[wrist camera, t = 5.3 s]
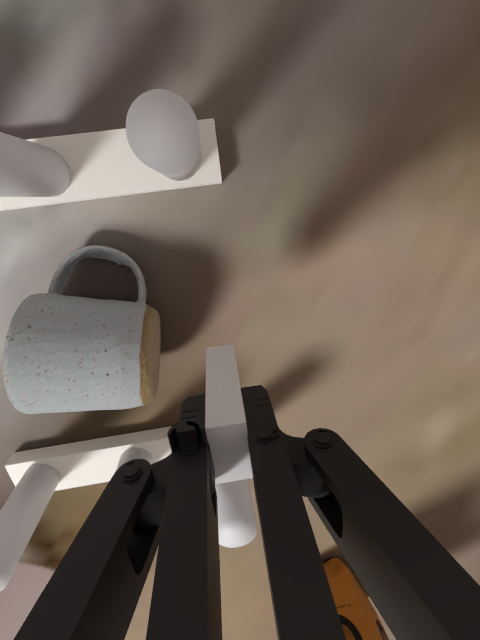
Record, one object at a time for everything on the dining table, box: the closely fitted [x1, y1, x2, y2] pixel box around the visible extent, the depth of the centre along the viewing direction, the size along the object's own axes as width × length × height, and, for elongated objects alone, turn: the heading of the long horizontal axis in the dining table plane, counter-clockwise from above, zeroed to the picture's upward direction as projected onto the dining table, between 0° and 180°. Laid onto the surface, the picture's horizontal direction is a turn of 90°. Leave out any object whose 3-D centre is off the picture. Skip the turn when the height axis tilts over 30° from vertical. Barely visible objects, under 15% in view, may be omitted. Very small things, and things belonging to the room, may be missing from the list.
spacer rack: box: [0, 89, 257, 591], centre depth 21 cm, size 21×27×10 cm
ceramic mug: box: [3, 245, 161, 414], centre depth 21 cm, size 11×8×8 cm
